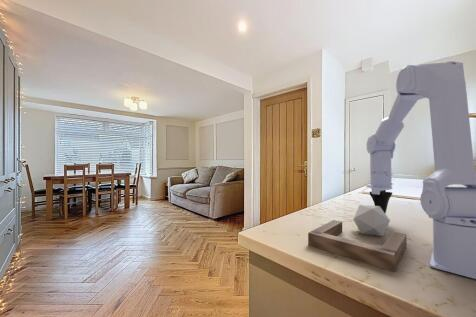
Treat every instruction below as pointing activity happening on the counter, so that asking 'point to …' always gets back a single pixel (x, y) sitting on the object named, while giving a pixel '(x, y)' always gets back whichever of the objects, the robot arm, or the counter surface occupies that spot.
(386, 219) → the die
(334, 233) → the pocket
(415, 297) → the counter surface
